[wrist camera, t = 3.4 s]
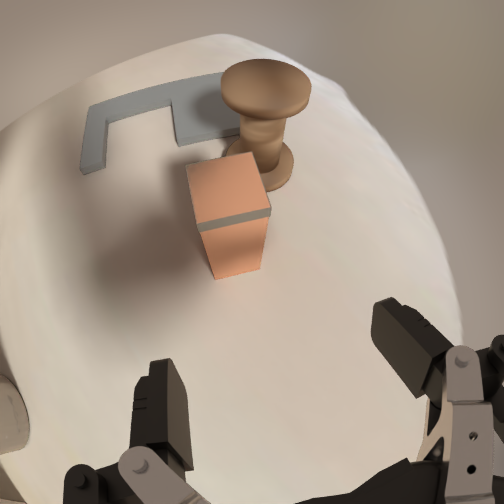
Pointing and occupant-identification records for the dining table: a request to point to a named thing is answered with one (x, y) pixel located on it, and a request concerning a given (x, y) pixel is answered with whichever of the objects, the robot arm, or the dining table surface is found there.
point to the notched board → (173, 93)
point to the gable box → (9, 502)
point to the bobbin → (265, 112)
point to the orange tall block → (230, 212)
